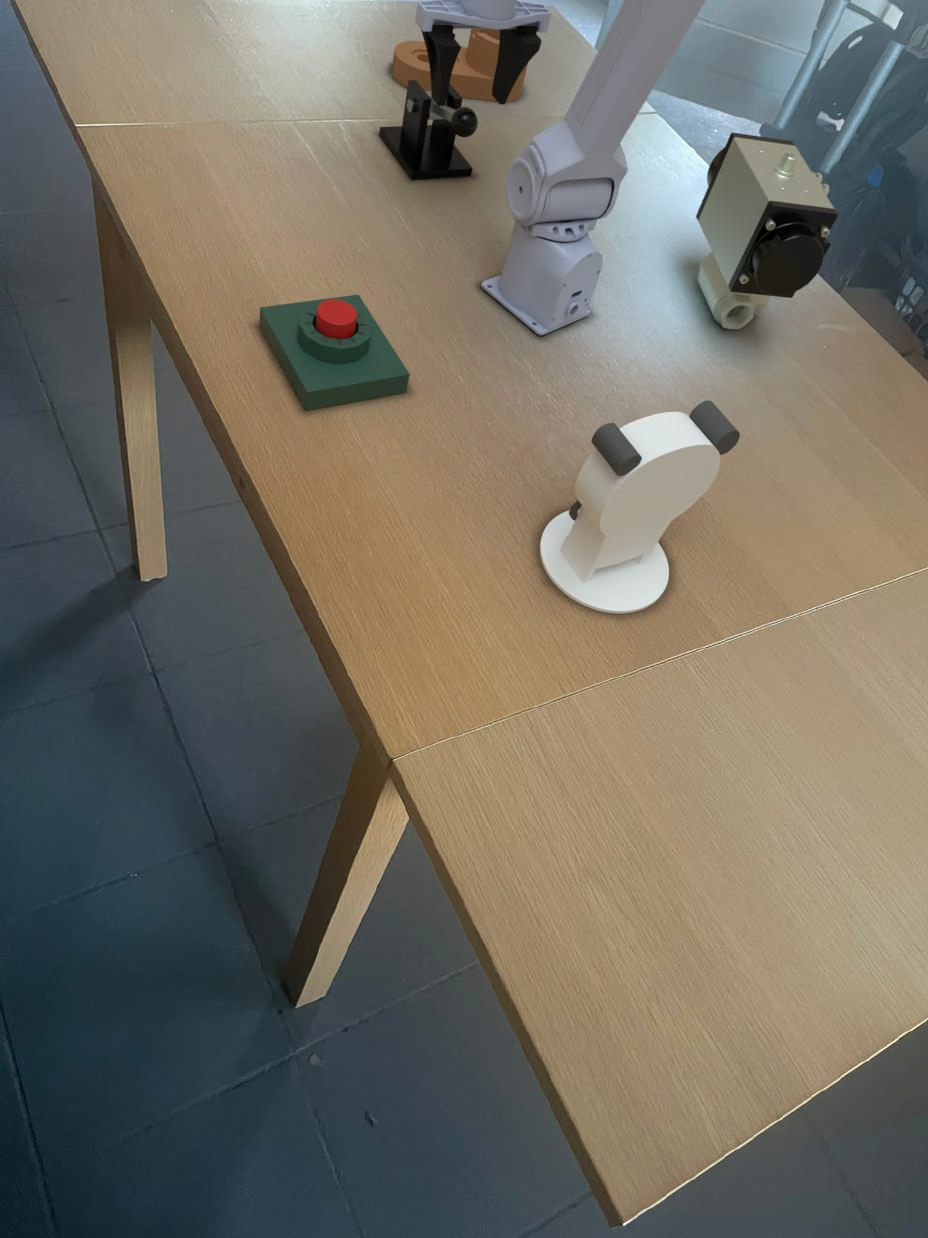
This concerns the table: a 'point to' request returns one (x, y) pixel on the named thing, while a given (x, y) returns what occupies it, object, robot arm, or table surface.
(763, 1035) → the table surface
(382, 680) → the table surface
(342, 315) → the button
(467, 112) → the lever
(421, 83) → the bracket
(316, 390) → the button box
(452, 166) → the bracket
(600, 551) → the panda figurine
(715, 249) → the ball valve
